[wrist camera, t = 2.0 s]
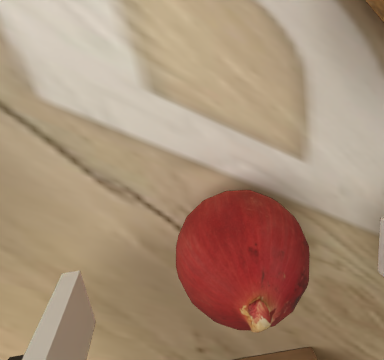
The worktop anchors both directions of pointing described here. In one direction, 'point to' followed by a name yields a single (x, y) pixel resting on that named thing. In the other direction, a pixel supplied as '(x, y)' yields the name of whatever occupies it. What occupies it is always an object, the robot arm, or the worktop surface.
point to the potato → (377, 7)
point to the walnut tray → (287, 355)
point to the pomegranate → (243, 260)
